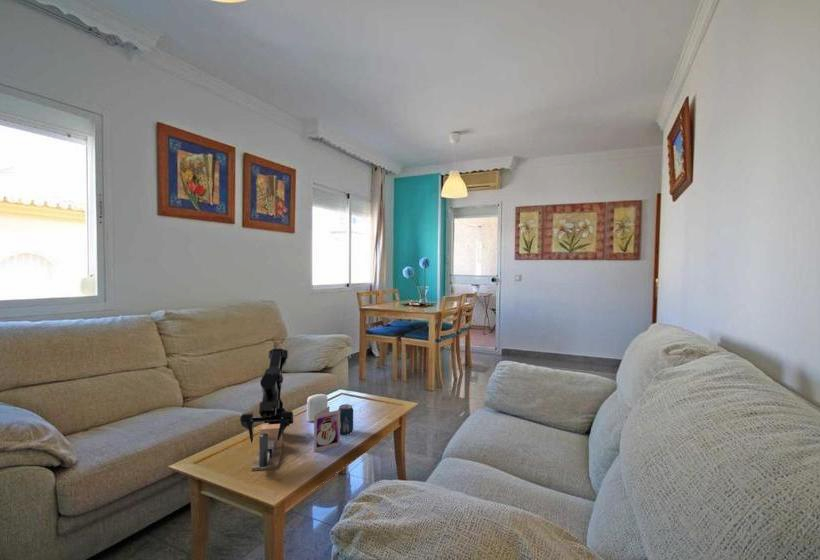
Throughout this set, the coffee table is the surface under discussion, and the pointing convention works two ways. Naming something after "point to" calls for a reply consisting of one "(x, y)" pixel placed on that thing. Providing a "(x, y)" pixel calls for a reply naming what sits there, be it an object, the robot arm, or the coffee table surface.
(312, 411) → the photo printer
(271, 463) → the base board
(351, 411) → the soda can
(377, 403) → the coffee table surface
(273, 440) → the grey rectangular block
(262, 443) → the black handled metal tool
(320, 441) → the greeting card
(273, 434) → the socket
